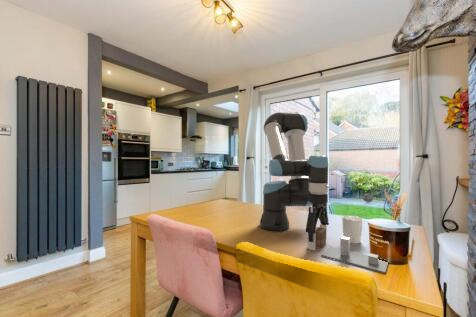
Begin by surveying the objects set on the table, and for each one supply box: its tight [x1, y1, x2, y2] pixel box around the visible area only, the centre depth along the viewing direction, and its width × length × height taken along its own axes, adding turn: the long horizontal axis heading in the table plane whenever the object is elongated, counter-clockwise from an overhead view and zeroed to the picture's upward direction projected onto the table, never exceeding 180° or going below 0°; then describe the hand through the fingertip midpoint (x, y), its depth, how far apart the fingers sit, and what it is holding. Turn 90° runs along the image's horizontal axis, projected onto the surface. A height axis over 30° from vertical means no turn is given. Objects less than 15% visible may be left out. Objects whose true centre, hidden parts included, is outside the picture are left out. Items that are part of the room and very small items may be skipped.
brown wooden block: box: [315, 226, 327, 249], centre depth 97 cm, size 5×5×7 cm
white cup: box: [341, 214, 363, 244], centre depth 101 cm, size 8×8×10 cm
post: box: [340, 235, 351, 257], centre depth 85 cm, size 3×3×7 cm
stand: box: [320, 246, 389, 275], centre depth 83 cm, size 20×10×3 cm, turn 51°
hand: (317, 244), depth 97 cm, fingers open, 12 cm apart
